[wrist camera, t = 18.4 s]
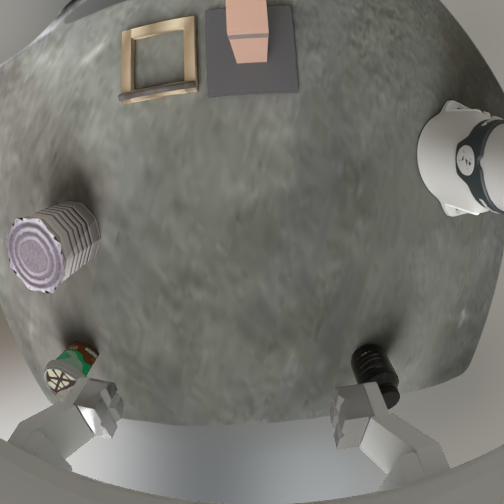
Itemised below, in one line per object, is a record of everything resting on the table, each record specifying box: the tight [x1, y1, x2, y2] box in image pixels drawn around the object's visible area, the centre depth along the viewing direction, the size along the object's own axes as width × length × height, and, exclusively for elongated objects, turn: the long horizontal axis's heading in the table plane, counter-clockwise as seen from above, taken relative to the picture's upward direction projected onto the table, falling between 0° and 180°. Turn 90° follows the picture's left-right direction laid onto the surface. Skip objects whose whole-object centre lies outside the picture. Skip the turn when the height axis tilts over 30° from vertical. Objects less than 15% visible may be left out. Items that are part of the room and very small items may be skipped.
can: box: [6, 201, 101, 294], centre depth 38 cm, size 11×11×12 cm
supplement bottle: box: [351, 344, 400, 409], centre depth 45 cm, size 7×7×12 cm
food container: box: [44, 342, 99, 396], centre depth 48 cm, size 12×6×10 cm, turn 122°
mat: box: [205, 6, 298, 97], centre depth 34 cm, size 12×14×1 cm
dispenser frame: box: [118, 16, 198, 104], centre depth 33 cm, size 11×12×2 cm
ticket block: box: [226, 0, 269, 63], centre depth 28 cm, size 4×5×12 cm
